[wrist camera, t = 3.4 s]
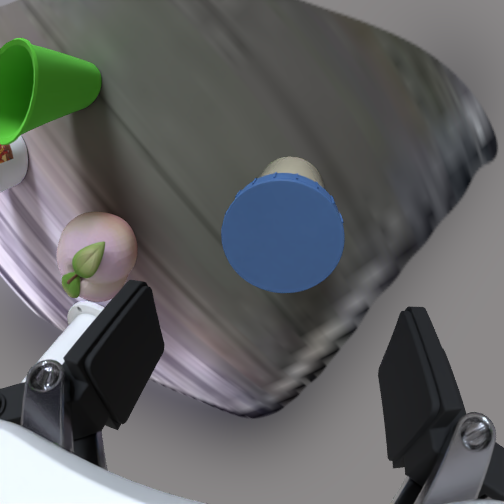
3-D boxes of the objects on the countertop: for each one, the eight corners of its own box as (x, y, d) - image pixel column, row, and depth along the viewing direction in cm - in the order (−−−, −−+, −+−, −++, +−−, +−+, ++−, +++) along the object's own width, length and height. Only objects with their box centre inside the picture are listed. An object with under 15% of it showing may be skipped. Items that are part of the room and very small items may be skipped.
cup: (67, 44, 21) (-8, 41, 12) (128, 49, 22) (48, 35, 12) (50, 118, 26) (-24, 136, 16) (106, 133, 26) (26, 155, 16)
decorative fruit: (109, 180, 28) (43, 213, 19) (167, 226, 29) (115, 276, 21) (83, 241, 32) (30, 283, 23) (133, 282, 34) (88, 335, 25)
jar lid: (352, 263, 18) (356, 279, 16) (249, 286, 20) (244, 303, 18) (325, 157, 15) (327, 163, 14) (211, 192, 17) (201, 201, 16)
